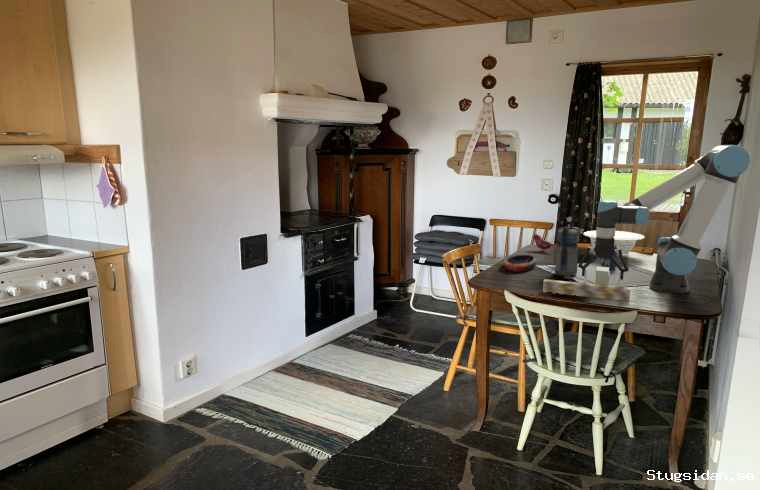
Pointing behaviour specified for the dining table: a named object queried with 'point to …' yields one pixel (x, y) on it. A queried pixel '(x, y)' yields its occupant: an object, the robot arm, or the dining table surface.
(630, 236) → the colander
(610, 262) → the soda can
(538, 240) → the decorative bird figurine
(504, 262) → the dish
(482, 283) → the dining table surface
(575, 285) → the price rail shelf lip
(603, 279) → the sage carton
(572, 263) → the beverage bottle
